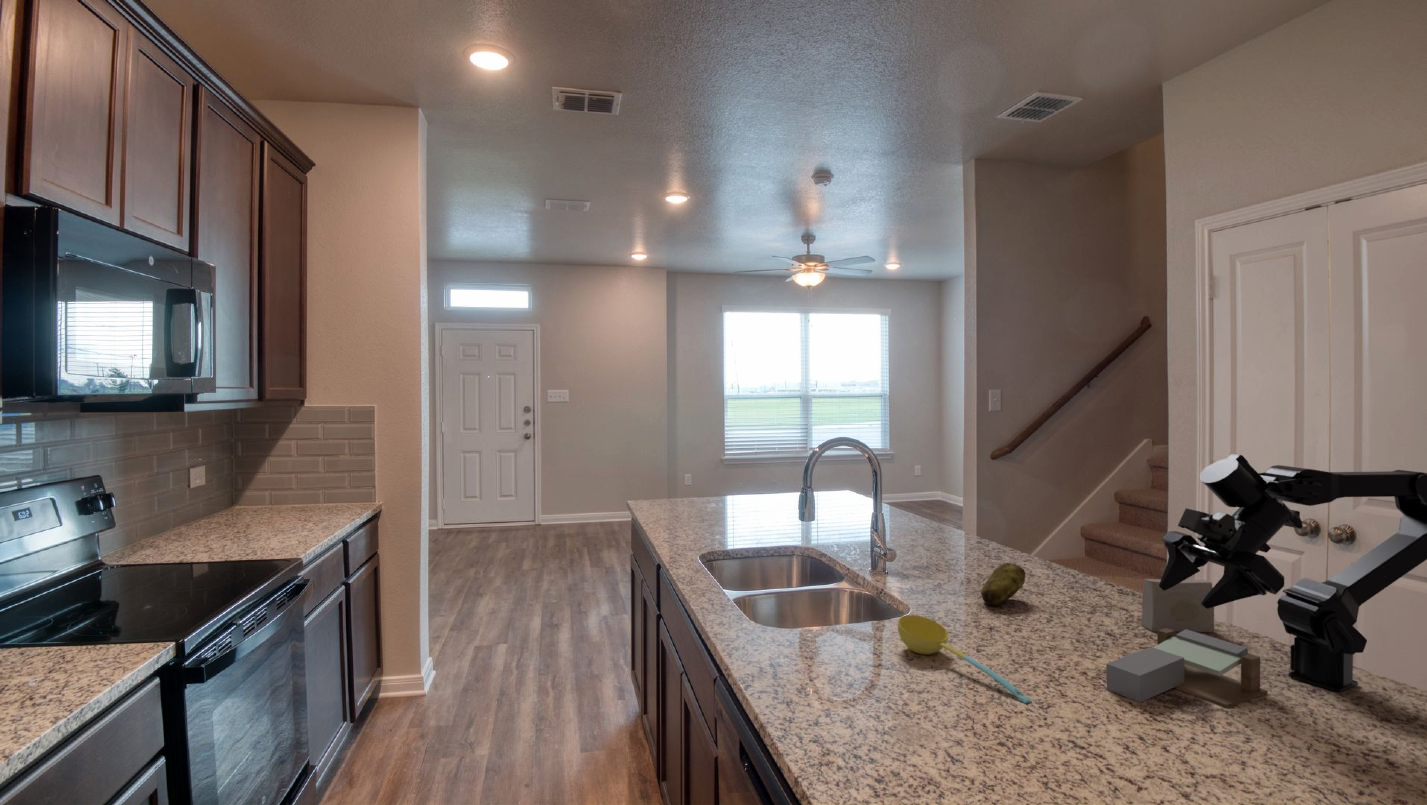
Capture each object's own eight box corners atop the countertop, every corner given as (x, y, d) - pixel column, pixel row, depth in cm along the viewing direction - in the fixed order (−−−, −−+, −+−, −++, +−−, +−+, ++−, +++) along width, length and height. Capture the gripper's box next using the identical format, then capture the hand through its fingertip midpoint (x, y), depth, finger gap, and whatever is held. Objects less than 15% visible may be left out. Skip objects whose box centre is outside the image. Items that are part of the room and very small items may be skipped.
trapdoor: (1251, 659, 103) (1251, 648, 103) (1220, 679, 100) (1219, 668, 100) (1183, 638, 112) (1182, 628, 112) (1152, 655, 109) (1151, 645, 109)
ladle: (919, 634, 124) (926, 606, 123) (1039, 728, 100) (1048, 695, 99) (883, 639, 120) (889, 610, 119) (999, 739, 97) (1008, 704, 96)
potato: (965, 599, 147) (965, 563, 147) (1008, 593, 152) (1008, 558, 152) (993, 610, 139) (993, 573, 139) (1038, 603, 144) (1038, 567, 144)
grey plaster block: (1201, 626, 130) (1202, 578, 130) (1215, 632, 127) (1215, 583, 126) (1140, 625, 130) (1140, 577, 130) (1151, 632, 127) (1152, 582, 127)
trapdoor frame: (1267, 693, 101) (1267, 657, 101) (1226, 707, 96) (1227, 670, 96) (1164, 657, 114) (1165, 626, 114) (1124, 668, 110) (1125, 636, 110)
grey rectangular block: (1150, 646, 108) (1106, 663, 102) (1184, 657, 103) (1139, 675, 98) (1150, 670, 108) (1106, 689, 102) (1184, 682, 103) (1140, 702, 98)
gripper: (1173, 484, 114) (1109, 548, 114) (1266, 501, 95) (1190, 578, 95) (1217, 529, 114) (1154, 593, 114) (1318, 555, 95) (1243, 631, 95)
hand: (1181, 597), depth 105 cm, fingers open, 9 cm apart
